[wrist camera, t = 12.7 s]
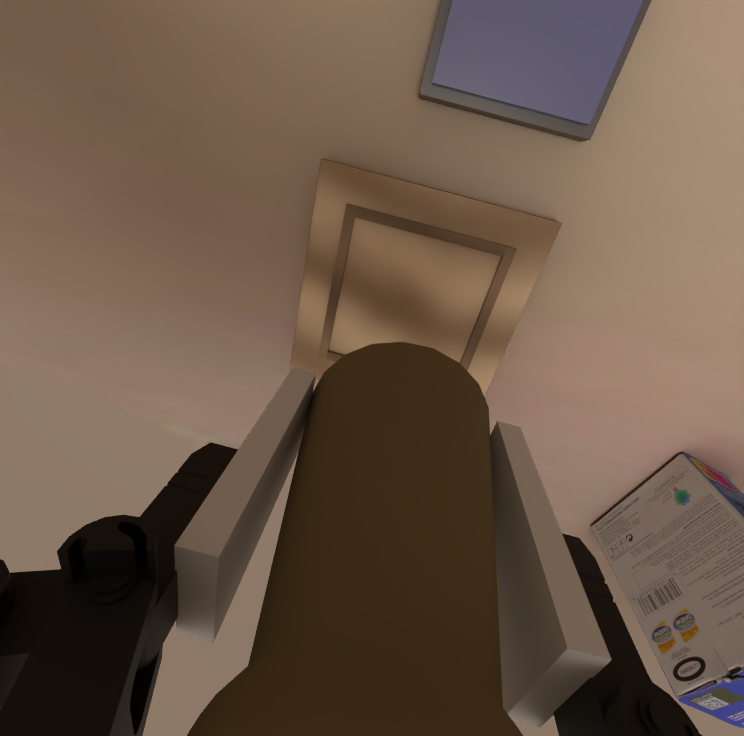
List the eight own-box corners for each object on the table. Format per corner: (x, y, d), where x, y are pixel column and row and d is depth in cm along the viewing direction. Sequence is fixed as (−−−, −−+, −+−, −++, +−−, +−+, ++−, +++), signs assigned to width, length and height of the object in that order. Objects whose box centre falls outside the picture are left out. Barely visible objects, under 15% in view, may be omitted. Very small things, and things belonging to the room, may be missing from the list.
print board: (325, 159, 22) (319, 158, 21) (556, 221, 22) (563, 223, 21) (293, 365, 29) (288, 373, 27) (472, 412, 29) (474, 422, 27)
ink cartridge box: (637, 552, 33) (775, 790, 20) (586, 526, 32) (694, 755, 20) (737, 480, 29) (994, 726, 16) (680, 449, 28) (898, 680, 15)
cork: (273, 396, 13) (-189, 1099, 3) (428, 304, 11) (512, 1547, 1) (373, 511, 15) (283, 1163, 5) (521, 451, 13) (854, 1366, 3)
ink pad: (480, -155, 16) (486, -189, 14) (684, -100, 16) (711, -128, 15) (419, 98, 20) (419, 91, 19) (581, 141, 20) (594, 138, 19)
